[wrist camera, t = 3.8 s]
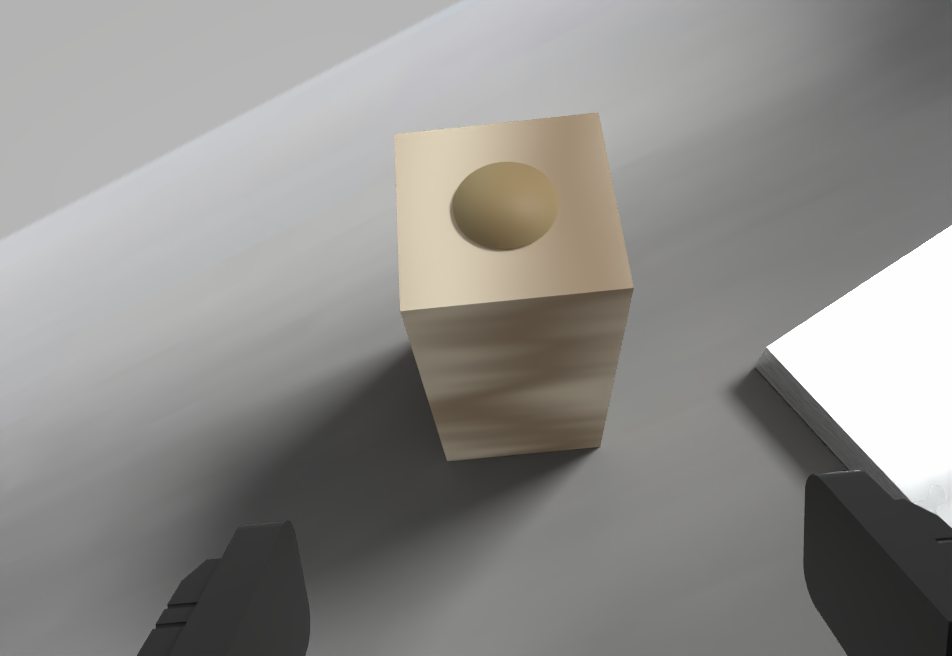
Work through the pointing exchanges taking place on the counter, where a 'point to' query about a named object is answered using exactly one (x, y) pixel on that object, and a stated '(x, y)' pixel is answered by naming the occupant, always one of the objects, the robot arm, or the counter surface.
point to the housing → (512, 282)
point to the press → (881, 376)
